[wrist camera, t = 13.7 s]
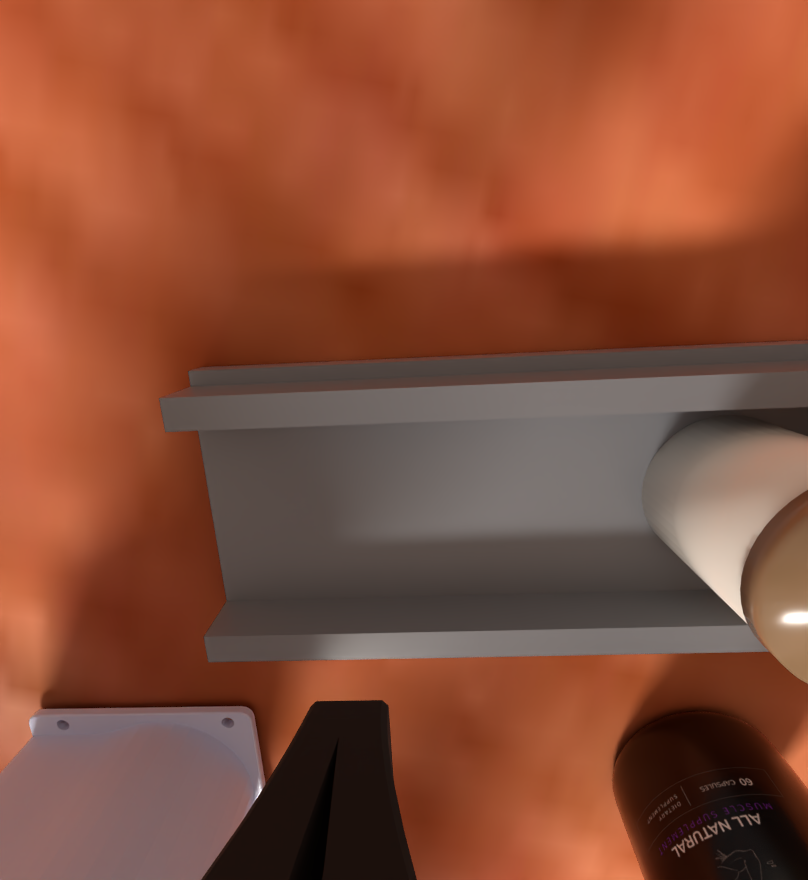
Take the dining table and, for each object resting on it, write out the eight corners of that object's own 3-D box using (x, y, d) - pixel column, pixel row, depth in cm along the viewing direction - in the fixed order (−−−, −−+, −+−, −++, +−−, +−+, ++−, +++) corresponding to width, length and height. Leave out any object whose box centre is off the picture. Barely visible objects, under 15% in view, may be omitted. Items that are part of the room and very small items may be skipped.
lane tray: (241, 619, 19) (166, 753, 14) (201, 367, 17) (86, 401, 11) (867, 604, 18) (1074, 744, 13) (934, 334, 16) (1234, 353, 10)
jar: (641, 566, 17) (759, 708, 11) (635, 424, 16) (767, 499, 10) (795, 547, 17) (1003, 682, 11) (804, 399, 15) (1048, 462, 9)
